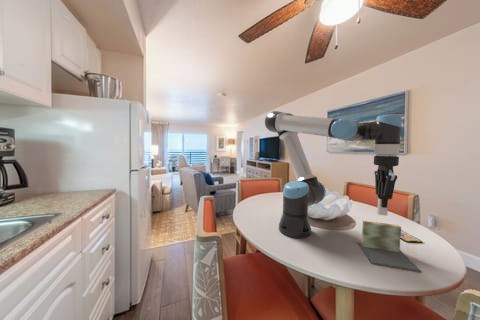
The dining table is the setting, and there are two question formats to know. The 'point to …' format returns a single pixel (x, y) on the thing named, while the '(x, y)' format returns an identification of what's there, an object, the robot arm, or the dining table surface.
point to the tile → (381, 236)
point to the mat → (389, 258)
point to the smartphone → (409, 238)
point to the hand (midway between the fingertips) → (381, 214)
